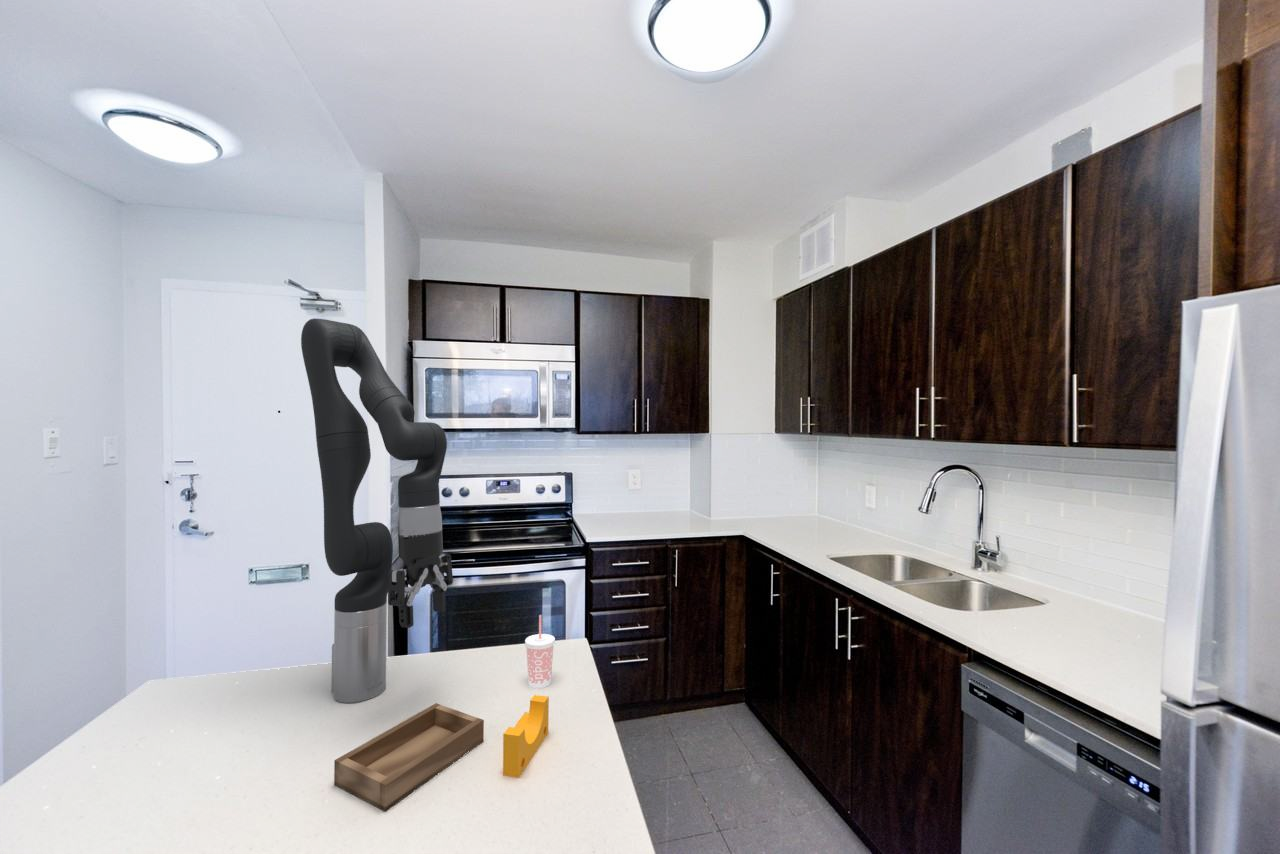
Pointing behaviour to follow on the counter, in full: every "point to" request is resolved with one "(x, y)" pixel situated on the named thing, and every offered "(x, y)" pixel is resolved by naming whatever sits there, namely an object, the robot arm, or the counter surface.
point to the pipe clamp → (525, 737)
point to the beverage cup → (539, 658)
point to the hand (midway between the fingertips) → (423, 618)
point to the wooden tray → (407, 755)
